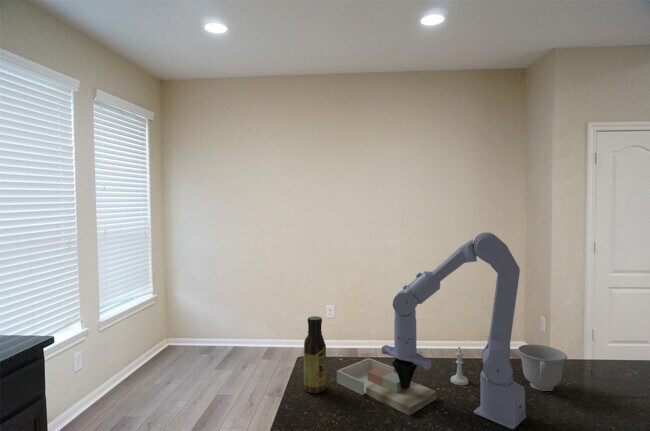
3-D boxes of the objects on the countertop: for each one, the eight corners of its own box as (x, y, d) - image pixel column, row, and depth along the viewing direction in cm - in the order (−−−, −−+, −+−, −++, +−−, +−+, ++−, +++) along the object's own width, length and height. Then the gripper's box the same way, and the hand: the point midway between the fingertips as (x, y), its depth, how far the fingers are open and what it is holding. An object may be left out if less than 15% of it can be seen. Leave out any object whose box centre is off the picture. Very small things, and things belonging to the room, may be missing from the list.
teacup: (517, 396, 100) (517, 359, 99) (517, 374, 113) (517, 341, 113) (571, 407, 94) (571, 367, 94) (565, 383, 107) (565, 348, 107)
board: (436, 398, 99) (436, 391, 99) (409, 415, 91) (409, 407, 91) (393, 381, 109) (393, 374, 109) (366, 394, 101) (366, 387, 101)
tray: (394, 379, 110) (394, 367, 110) (362, 395, 101) (362, 382, 101) (368, 369, 117) (368, 357, 117) (336, 382, 108) (336, 370, 108)
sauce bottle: (323, 395, 101) (323, 322, 101) (301, 393, 102) (300, 320, 102) (328, 384, 107) (327, 315, 107) (307, 382, 108) (306, 314, 108)
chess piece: (465, 377, 111) (465, 344, 111) (470, 385, 106) (470, 350, 106) (448, 377, 111) (448, 343, 111) (452, 384, 106) (452, 350, 106)
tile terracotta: (392, 380, 105) (392, 371, 105) (381, 386, 101) (381, 377, 101) (379, 375, 108) (379, 366, 108) (367, 380, 105) (367, 371, 105)
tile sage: (408, 386, 101) (407, 377, 101) (396, 392, 98) (396, 383, 98) (393, 380, 105) (393, 371, 105) (381, 386, 101) (381, 377, 101)
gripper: (438, 339, 96) (438, 392, 96) (392, 327, 107) (392, 374, 107) (422, 346, 91) (422, 402, 91) (376, 332, 102) (376, 382, 102)
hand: (405, 387), depth 99 cm, fingers closed
